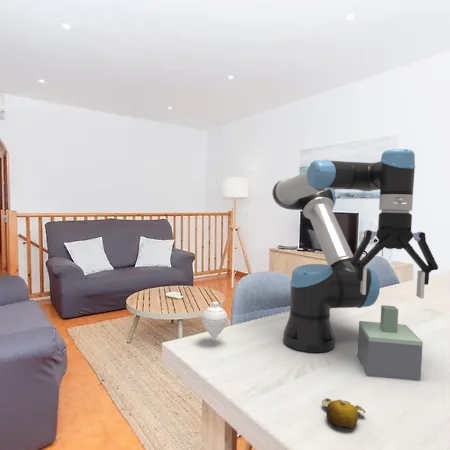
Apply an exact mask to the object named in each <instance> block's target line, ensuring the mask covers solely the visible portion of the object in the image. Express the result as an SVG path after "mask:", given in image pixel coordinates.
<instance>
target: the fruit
mask: <svg viewBox="0 0 450 450" xmlns="http://www.w3.org/2000/svg"><path fill="white" fill-rule="evenodd" d="M321 403H322V406H323V407H326V412H325V415H326V418H327V421H328V422H329V424H330V425H332V426H335V427H340V428H341V427H347V428H348V427H349V428H350V429H352V428H353V427H354V428H355V427H356V426H357V423H358V421H359V411H360V412H362V413H361V414H365V413H366V410H365V409H364V408H363V407H361V406H360V405H354V404H351V402H350V401H347V400H342V399H335V400H331V398H324V399H323V400H321Z"/></svg>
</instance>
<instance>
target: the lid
mask: <svg viewBox="0 0 450 450" xmlns="http://www.w3.org/2000/svg"><path fill="white" fill-rule="evenodd" d="M398 322H399V309H398V308H397V307H396V306H395V305H383V304H381V306H380V322H377V321H367V320H366V321H364V320H359V321H358V326H359V325H360V327H361V328H362V330H363V332H364V333H365V335H366V337H367V338H368V340H369V341H376V342H387V343H398V344H409V345H419V346H422V347H423V343H424V342H423V340H421V338H419V336H418V335H417V334H416V333H415V332H414V331H412V329H411V328H410V327H409V326H408V325H407V324H403V323H398Z"/></svg>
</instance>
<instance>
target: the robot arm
mask: <svg viewBox="0 0 450 450" xmlns="http://www.w3.org/2000/svg"><path fill="white" fill-rule="evenodd" d="M415 157H416V156H415V152H414V151H413V150H412V149H408V148H396V149H394V148H392V149H387V150H384V151H383V152H382V154H381V158H380V161H376V162H360V161H359V162H358V161H342V160H341V161H340V160H330V159H329V160H328V159H321V160H319V159H318V160H317V159H316V160H313V161H311V163H310V164H309V166H308V168H307V170H306V171H304V172H302V173H299V174H297V175H296V176H294V177H291V178H290V177H286V178H283V179H281V180H279V181H278V182H276V183H275V184H274V186H273V189H272V197H273V200H274V202H275V203H276V204H277V205H278V206H279V207H281V208H283V209H286V210H290V211H291V210H293V211H294V210H296V211H302V213H303V216H304V217H305V218H306V219H308V220H310V223H311V225H312V228H313V230H314V234H315V235H316V238H317V240H318V243H319V246H320V248H321V250H322V254H323V256H324V257H325V261H326V264H325V263H309V264H303V265H299V266H296V267H295V268H294V269H293V270H292V272H291V279H290V307H289V316H288V317H289V318H288V320H287V322H286V326H285V328H284V330H283V334H282V335H283V338H282V339H283V342H284V343H285V345H287V346H289V347H291V348H293V349H295V350H298V351H302V352H306V353H307V352H308V353H325V352H329V351H331V350H333V349H334V348H335V344H336V337H335V334H334V330H333V327H332V323H331V319H330V318H331V317H330V316H331V313H330V312H331V309H340V308H341V309H344V308H347V309H348V308H352V309H353V308H357V309H361V308H365V307H372V305H374V304H376V301H377V300H378V298H379V295H380V289H381V284H380V279H379V278H380V277H379V276H378V273H377V272H376V270H374V269H372V268H366V266H367V265H368V264H369V263H371V262H372V260H373V259H374V258H375V257H376V256H377V255H378V254H379V253H380V252H381V251H382V250H384V249H388V250H393V249H396V250H402V249H403V250H404V251H406V253H407V254H408V255H409V256H410V257H411V259H412V260H413V261H414V263H416V265H417V266H418V267H419V268H420V270H417V278H416V279H417V280H416V297H418V298H419V299H422V300H423V299H424V298H425V285H426V286H427V285H429V280H430V273H432V271H437V270H439V266H438V264H437V262H436V260H435V258H434V255H433V254H432V252H431V249H430V246H429V245H428V243H427V240H426V239H427V238H426V233H425V232H422V231H417V232H412V223H413V220H412V219H413V214H412V213H410V212H412V211H413V202H414V201H413V200H414V199H413V198H414V186H415V185H414V182H415V169H416V163H415V162H416V160H415V159H416V158H415ZM335 190H354V191H355V190H358V191H360V192H361V191H362V192H372V191H378V190H379V205H378V210H379V211H381V212H379V213H378V220H377V221H378V223H377V224H378V226H377V230H376V231H372V230H371V229H370V230H369V229H366V230H365V231H364V234H363V238H362V240H361V242H360V243H359V245H358V247H357V249H356V250H355V252H354V253H353V251H352V250H351V247H350V245H349V243H348V241H347V239H346V237H345V234H344V233H343V230H342V229H341V226H340V224H339V222H338V219H337V217H336V215H335V213H334V211H333V210H334V207H335V204H336V201H337V196H336V191H335ZM375 237H376V238H377V240H378V241H377V243H376V244H375V245H374V246H373V247H372V248H371V249H370V250H369V251H368V252H367V253H366V254H365V255H364V256H363V254H364V253H365V250H367V247H368V245H369V244H370V242H371V240H373V239H374V238H375ZM412 239H414V241H416V242H417V244H418V247H419V248H420V251H421V253H422V255H423V257H424V259H425V261H426V262H425V261H424V260H423V259H422V257H420V255H419V254H418V253H417V252H416V251H415V249H414V247H413V246H412V245H411V244H410V241H411V240H412ZM362 256H363V257H362ZM361 257H362V259H361ZM426 263H427V264H426Z"/></svg>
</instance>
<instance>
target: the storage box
mask: <svg viewBox="0 0 450 450" xmlns="http://www.w3.org/2000/svg"><path fill="white" fill-rule="evenodd" d="M357 335H358V336H357V339H358V341H357V357H358V360H359V362H360V365H361V366H362V369H363V370H364V372H365V374H366V377H371V378H383V379H395V380H402V381H403V380H406V381H417V382H421V375H422V361H423V359H422V358H423V345H422V346H419V345H409V344H398V343H387V342H376V341H369V340H368V338H367V337H366V335H365V333H364V332H363V330H362V328H361V327H360V325H359V324H358V334H357Z"/></svg>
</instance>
